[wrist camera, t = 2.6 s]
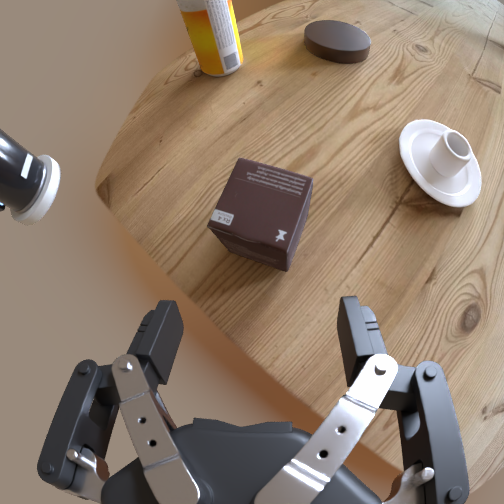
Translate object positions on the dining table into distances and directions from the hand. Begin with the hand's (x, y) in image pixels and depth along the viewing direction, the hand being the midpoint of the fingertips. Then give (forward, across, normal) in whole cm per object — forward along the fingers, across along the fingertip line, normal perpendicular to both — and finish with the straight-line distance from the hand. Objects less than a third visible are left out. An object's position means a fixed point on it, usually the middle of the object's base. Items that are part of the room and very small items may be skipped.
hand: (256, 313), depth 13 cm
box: (+14, 0, +3) cm, 14 cm away
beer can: (+32, +5, -15) cm, 36 cm away
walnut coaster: (+35, -12, -18) cm, 41 cm away
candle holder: (+19, -21, -3) cm, 29 cm away
